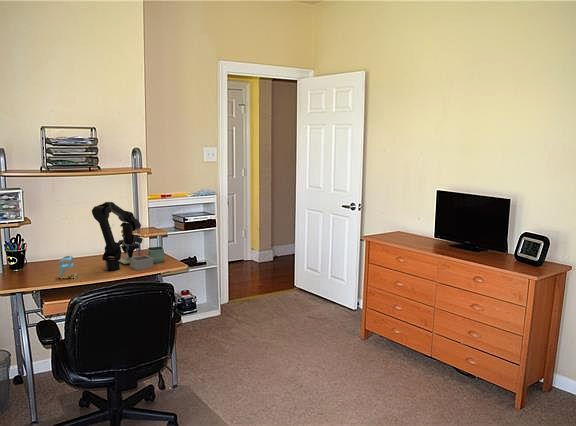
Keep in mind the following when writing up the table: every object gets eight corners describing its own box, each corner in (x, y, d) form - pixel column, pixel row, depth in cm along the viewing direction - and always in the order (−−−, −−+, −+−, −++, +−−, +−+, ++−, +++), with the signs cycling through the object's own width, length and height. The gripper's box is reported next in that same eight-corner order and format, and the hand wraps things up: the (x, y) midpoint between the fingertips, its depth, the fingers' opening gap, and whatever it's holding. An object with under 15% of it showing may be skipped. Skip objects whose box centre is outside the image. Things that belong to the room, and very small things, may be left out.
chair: (60, 276, 285) (58, 255, 283) (76, 275, 287) (74, 254, 285) (58, 280, 278) (55, 258, 276) (74, 279, 280) (72, 257, 278)
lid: (124, 263, 304) (123, 255, 303) (117, 260, 312) (116, 252, 312) (142, 260, 310) (141, 252, 310) (134, 257, 319) (134, 249, 318)
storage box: (136, 271, 293) (136, 261, 292) (130, 267, 301) (129, 257, 300) (153, 268, 299) (152, 258, 298) (146, 264, 307) (145, 255, 306)
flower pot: (165, 263, 309) (164, 249, 308) (149, 265, 306) (149, 250, 304) (162, 260, 317) (162, 246, 316) (148, 261, 314) (147, 247, 313)
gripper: (146, 233, 306) (148, 259, 309) (134, 228, 321) (136, 253, 323) (128, 235, 299) (130, 262, 302) (117, 231, 314) (118, 256, 316)
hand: (129, 258), depth 311 cm, fingers closed on lid, 4 cm apart
